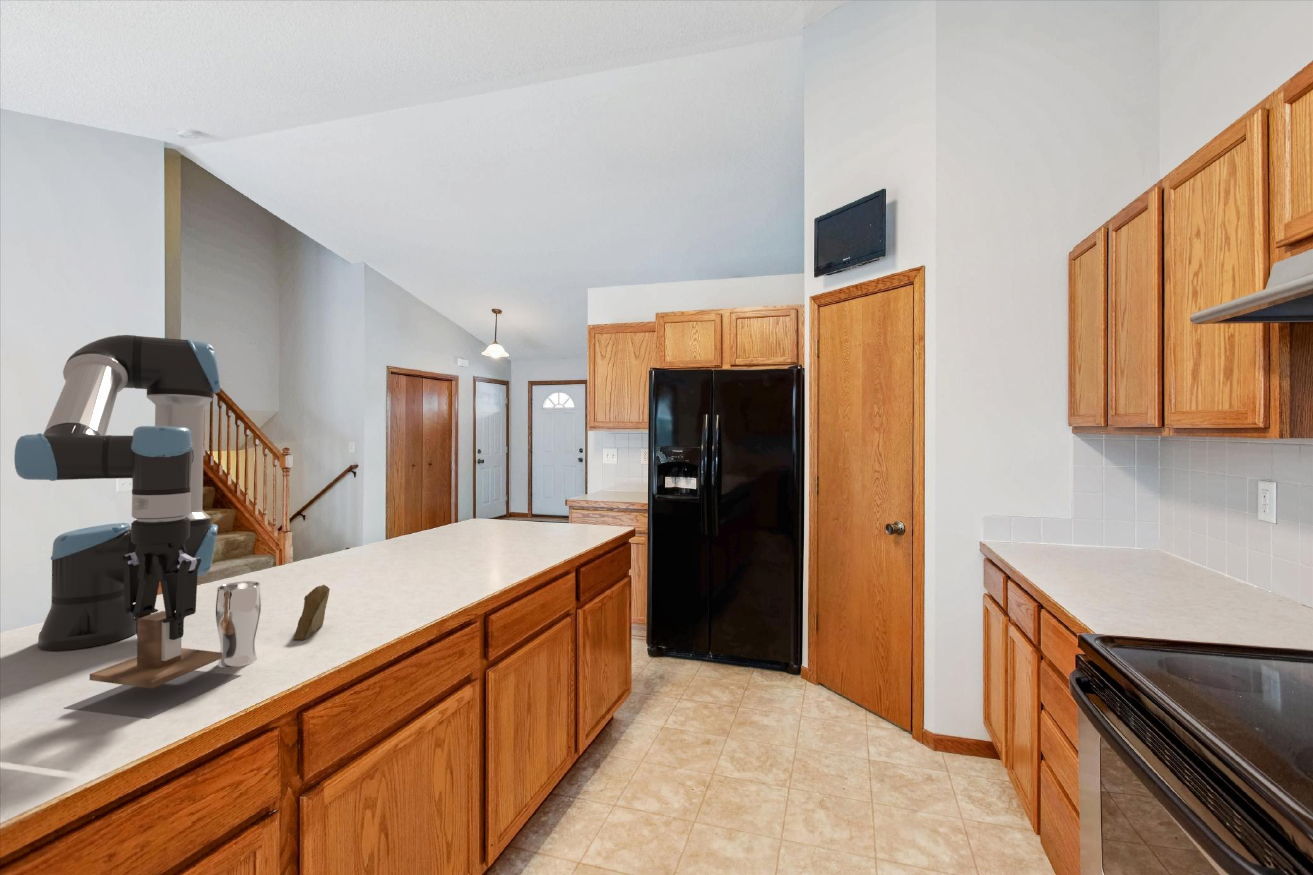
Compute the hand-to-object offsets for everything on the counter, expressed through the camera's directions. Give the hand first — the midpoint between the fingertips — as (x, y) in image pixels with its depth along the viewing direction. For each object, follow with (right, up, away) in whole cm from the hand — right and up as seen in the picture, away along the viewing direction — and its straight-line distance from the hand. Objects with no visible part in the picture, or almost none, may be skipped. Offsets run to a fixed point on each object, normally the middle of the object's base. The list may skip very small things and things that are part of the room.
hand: (159, 655), depth 97 cm
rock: (+6, -6, +30) cm, 31 cm away
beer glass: (+4, -6, +12) cm, 14 cm away
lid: (0, -2, 0) cm, 2 cm away
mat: (0, -6, 0) cm, 6 cm away
